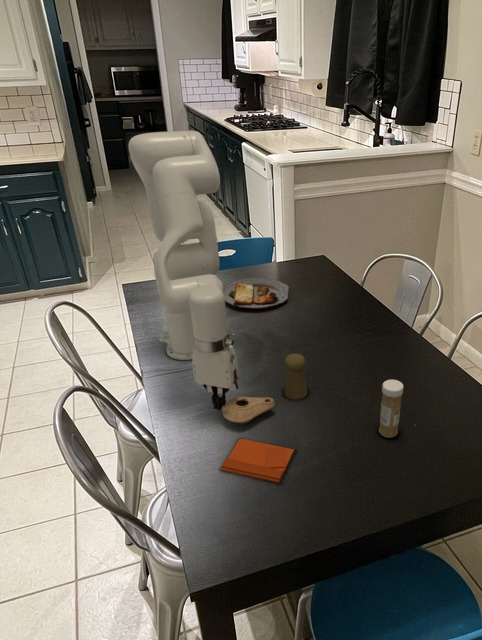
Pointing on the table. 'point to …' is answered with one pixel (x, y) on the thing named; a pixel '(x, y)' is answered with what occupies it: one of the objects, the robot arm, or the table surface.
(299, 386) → the cork
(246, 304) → the food plate
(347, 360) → the table surface
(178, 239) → the robot arm
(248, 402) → the pottery oil lamp
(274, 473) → the rust cloth
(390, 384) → the sprinkles bottle
